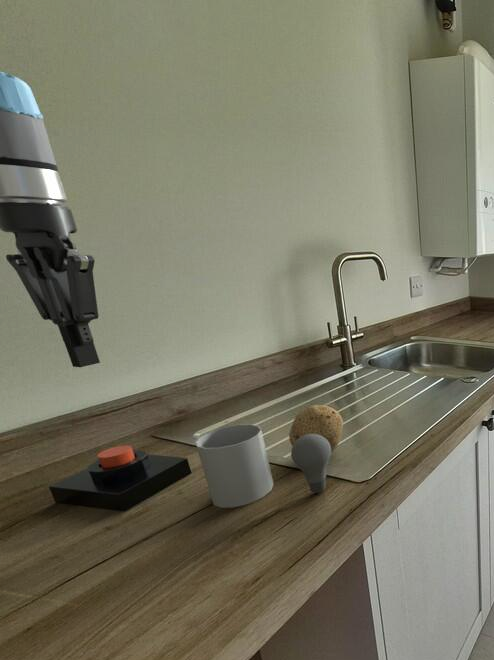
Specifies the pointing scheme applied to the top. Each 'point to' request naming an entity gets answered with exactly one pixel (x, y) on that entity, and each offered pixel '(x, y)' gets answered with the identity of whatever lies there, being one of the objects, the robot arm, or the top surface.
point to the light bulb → (312, 459)
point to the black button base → (121, 482)
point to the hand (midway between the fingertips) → (86, 364)
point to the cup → (235, 465)
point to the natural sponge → (318, 424)
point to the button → (116, 456)
